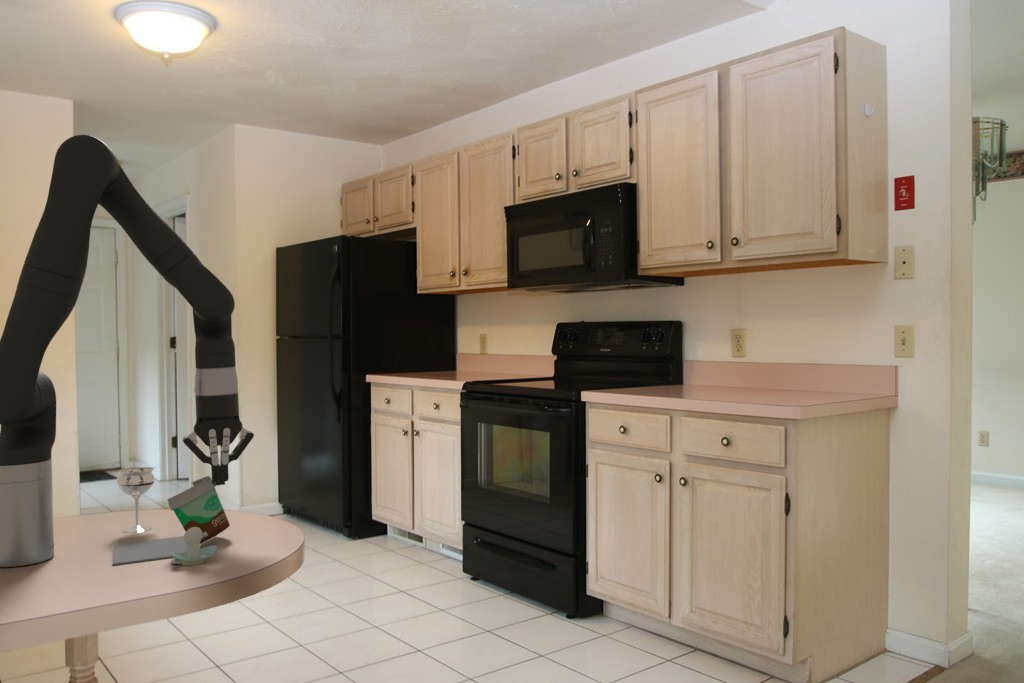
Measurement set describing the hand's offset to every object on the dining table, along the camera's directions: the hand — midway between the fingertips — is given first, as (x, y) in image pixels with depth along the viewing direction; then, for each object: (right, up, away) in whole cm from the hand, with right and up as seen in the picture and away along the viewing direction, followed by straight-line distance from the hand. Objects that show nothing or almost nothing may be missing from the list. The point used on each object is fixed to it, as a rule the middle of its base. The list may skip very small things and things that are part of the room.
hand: (220, 484), depth 145 cm
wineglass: (-21, -11, +11) cm, 26 cm away
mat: (-10, -11, -5) cm, 15 cm away
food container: (0, -9, 0) cm, 9 cm away
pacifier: (0, -11, -13) cm, 17 cm away
